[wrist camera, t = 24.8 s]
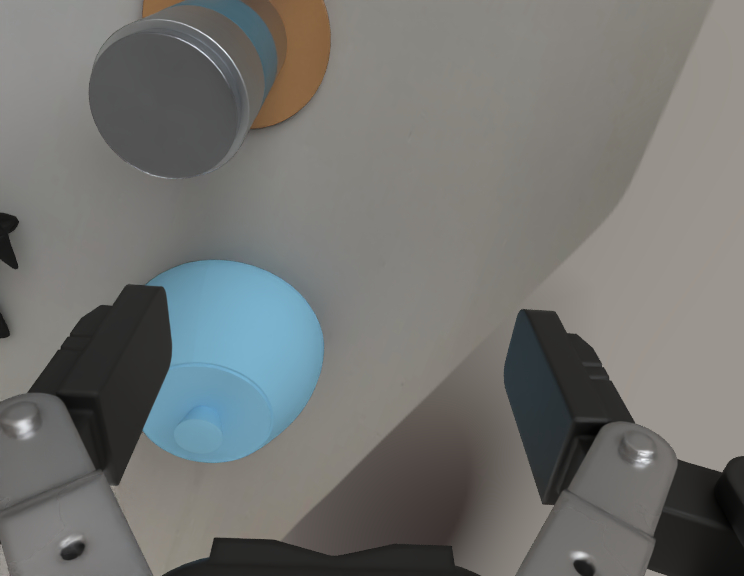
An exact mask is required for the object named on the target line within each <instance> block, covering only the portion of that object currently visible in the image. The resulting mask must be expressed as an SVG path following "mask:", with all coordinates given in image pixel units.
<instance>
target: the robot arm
mask: <svg viewBox="0 0 744 576" xmlns="http://www.w3.org/2000/svg"><path fill="white" fill-rule="evenodd" d="M171 358H172V337H171V329H170V320H169V312H168V304H167V296H166V291H165V289H164V287H162V286H148V285H131V284H128V285H126V286H125V287H124V289H123V290H122V292H121V293H120V295H119V296H118V298H117V299H116V301H115V302H114V304H113V305H112V306H108V305H100V306H99V307H97V308H96V309H94V310H93V311H91V312H90V313H88V314H87V315H85V316H84V317H82V318H81V319H80V320H79V322H78V323H77V325H76V326H75V327H74V329H73V330H72V332H71V333H70V337H67V338H66V340H65V341H64V343H63V344H62V345H61V349H60V350H58V351H57V352H56V354H55V355H54V356H53V358H52V359H51V361H50V362H49V363H48V365H47V366H46V368H45V369H44V370H43V372H42V373H41V374H40V376H39V377H38V379H37V380H36V381H35V383H34V384H33V386H32V387H31V388H30V390H29V391H28V393H27V394H21V395H17V396H14V397H11V398H8V399H6V400H3V401H1V402H0V544H1V545H2V548H3V552H4V555H5V559H6V563H7V566H8V570H9V573H10V576H153V574H152V572H151V570H150V568H149V566H148V564H147V562H146V559H145V557H144V555H143V553H142V551H141V549H140V547H139V545H138V543H137V541H136V539H135V537H134V535H133V533H132V531H131V529H130V526H129V524H128V522H127V520H126V518H125V516H124V514H123V512H122V510H121V508H120V506H119V504H118V502H117V500H116V498H115V495H114V493H113V491H112V489H111V487H110V485H112V486H118V485H119V483H120V481H121V478H122V476H123V474H124V471H125V469H126V467H127V464H128V462H129V460H130V458H131V455H132V453H133V451H134V448H135V446H136V444H137V442H138V439H139V437H140V435H141V432H142V430H143V428H144V425H145V423H146V421H147V419H148V416H149V414H150V412H151V409H152V407H153V405H154V403H155V400H156V398H157V396H158V393H159V391H160V389H161V386H162V384H163V382H164V380H165V377H166V375H167V373H168V370H169V367H170V363H171ZM504 384H505V389H506V392H507V395H508V398H509V402H510V405H511V408H512V411H513V414H514V417H515V420H516V423H517V426H518V430H519V433H520V436H521V439H522V442H523V445H524V448H525V451H526V454H527V457H528V461H529V464H530V467H531V470H532V473H533V476H534V479H535V483H536V486H537V489H538V492H539V495H540V498H541V501H542V504H545V505H554V507H553V509H552V510H551V512H550V514H549V516H548V518H547V519H546V521H545V523H544V525H543V527H542V528H541V530H540V532H539V534H538V536H537V537H536V539H535V541H534V543H533V544H532V546H531V548H530V550H529V552H528V553H527V555H526V557H525V559H524V561H523V562H522V564H521V566H520V568H519V570H518V572H517V573H516V575H515V576H644V575H645V572H646V569H650V570H652V571H655V572H658V573H661V574H664V575H667V576H744V456H741V457H736V458H733V459H732V460H730V461H729V463H728V464H727V466H726V467H725V469H724V470H723V472H718V471H715V470H711V469H708V468H705V467H701V466H697V465H694V464H691V463H687V462H684V461H681V460H679V459H677V457H676V454H675V452H674V450H673V449H672V447H671V446H670V445H669V444H668V443H667V442H666V441H665V440H664V439H663V438H662V437H661V436H659V435H658V434H656V433H655V432H653V431H651V430H650V429H648V428H646V427H643V426H641V425H638V424H635V422H634V420H633V418H632V416H631V415H630V413H629V411H628V409H627V408H626V406H625V404H624V402H623V401H622V399H621V397H620V395H619V394H618V392H617V390H616V388H615V387H614V385H613V383H612V381H609V376H608V374H607V372H606V370H605V369H604V367H602V363H601V361H600V360H599V358H598V356H597V354H596V353H595V351H594V349H593V348H592V347H591V346H590V345H589V344H588V343H586V342H585V341H584V340H583V339H582V338H581V337H579V336H578V335H577V334H570V333H567V332H566V331H565V329H564V327H563V325H562V323H561V321H560V319H559V317H558V315H557V314H556V312H554V311H542V310H527V309H523V310H520V312H519V313H518V315H517V318H516V322H515V326H514V330H513V334H512V338H511V341H510V345H509V349H508V353H507V357H506V361H505V366H504ZM162 576H480V575H478V574H476V573H474V572H472V571H469V570H467V569H464V568H462V567H458V566H455V564H454V558H453V551H452V546H437V545H411V544H410V545H409V544H407V545H406V544H392V545H388V546H382V547H378V548H373V549H368V550H364V551H359V552H354V553H349V554H344V555H339V556H330V555H326V554H322V553H319V552H315V551H312V550H308V549H305V548H301V547H298V546H294V545H290V544H287V543H284V542H280V541H277V540H269V539H241V538H214V540H213V545H212V549H211V553H210V557H208V558H203V559H199V560H196V561H193V562H190V563H187V564H184V565H182V566H180V567H177V568H175V569H173V570H171V571H169V572H167V573H165V574H164V575H162Z"/></svg>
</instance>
